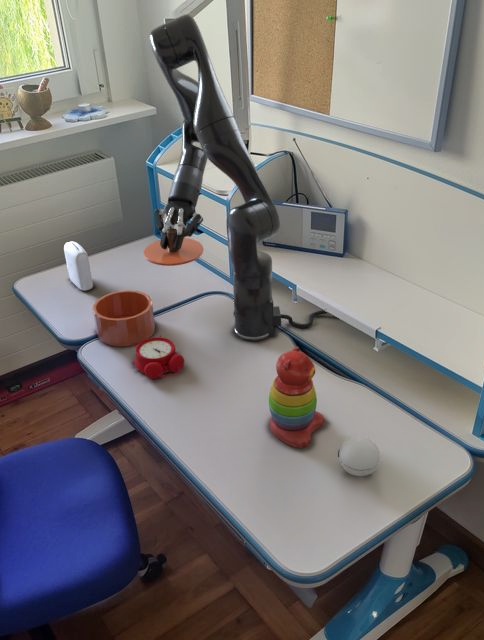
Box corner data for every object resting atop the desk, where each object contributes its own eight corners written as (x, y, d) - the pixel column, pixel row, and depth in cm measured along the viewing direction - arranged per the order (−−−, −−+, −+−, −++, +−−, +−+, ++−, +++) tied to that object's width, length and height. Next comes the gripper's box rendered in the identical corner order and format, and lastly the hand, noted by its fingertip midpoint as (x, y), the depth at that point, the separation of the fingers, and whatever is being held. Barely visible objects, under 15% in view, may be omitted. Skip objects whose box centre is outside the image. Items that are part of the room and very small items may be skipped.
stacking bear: (305, 451, 127) (307, 376, 117) (258, 434, 131) (257, 361, 122) (327, 419, 134) (332, 346, 124) (283, 404, 139) (284, 333, 129)
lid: (191, 237, 180) (189, 214, 177) (212, 259, 168) (211, 235, 165) (136, 248, 176) (133, 225, 172) (154, 273, 164) (151, 248, 160)
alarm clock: (165, 330, 159) (189, 347, 146) (169, 354, 161) (194, 373, 148) (124, 342, 155) (146, 361, 142) (129, 366, 158) (151, 387, 145)
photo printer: (67, 279, 192) (60, 240, 185) (81, 275, 194) (74, 236, 187) (81, 292, 185) (74, 252, 178) (95, 288, 187) (88, 248, 180)
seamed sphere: (354, 451, 126) (357, 421, 122) (386, 470, 121) (390, 440, 117) (319, 476, 121) (320, 447, 117) (351, 498, 116) (353, 468, 112)
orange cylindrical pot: (145, 310, 175) (142, 285, 171) (162, 337, 163) (159, 311, 159) (91, 323, 171) (87, 298, 167) (105, 351, 159) (100, 325, 155)
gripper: (156, 178, 171) (139, 240, 168) (206, 183, 166) (189, 247, 163) (167, 190, 178) (151, 250, 175) (215, 195, 173) (199, 257, 170)
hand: (169, 248), depth 169 cm, fingers closed on lid, 3 cm apart
